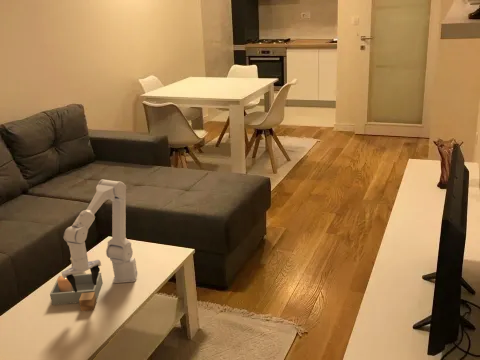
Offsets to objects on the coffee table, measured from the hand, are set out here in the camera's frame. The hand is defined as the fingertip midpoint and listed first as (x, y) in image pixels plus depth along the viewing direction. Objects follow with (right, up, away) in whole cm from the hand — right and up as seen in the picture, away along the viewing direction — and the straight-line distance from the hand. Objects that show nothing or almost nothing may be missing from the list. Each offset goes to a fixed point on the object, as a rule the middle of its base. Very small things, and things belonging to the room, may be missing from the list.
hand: (85, 287), depth 200 cm
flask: (-10, -1, +24) cm, 26 cm away
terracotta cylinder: (-11, -5, +12) cm, 17 cm away
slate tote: (-6, -5, +12) cm, 15 cm away
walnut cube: (+1, -8, +3) cm, 9 cm away
